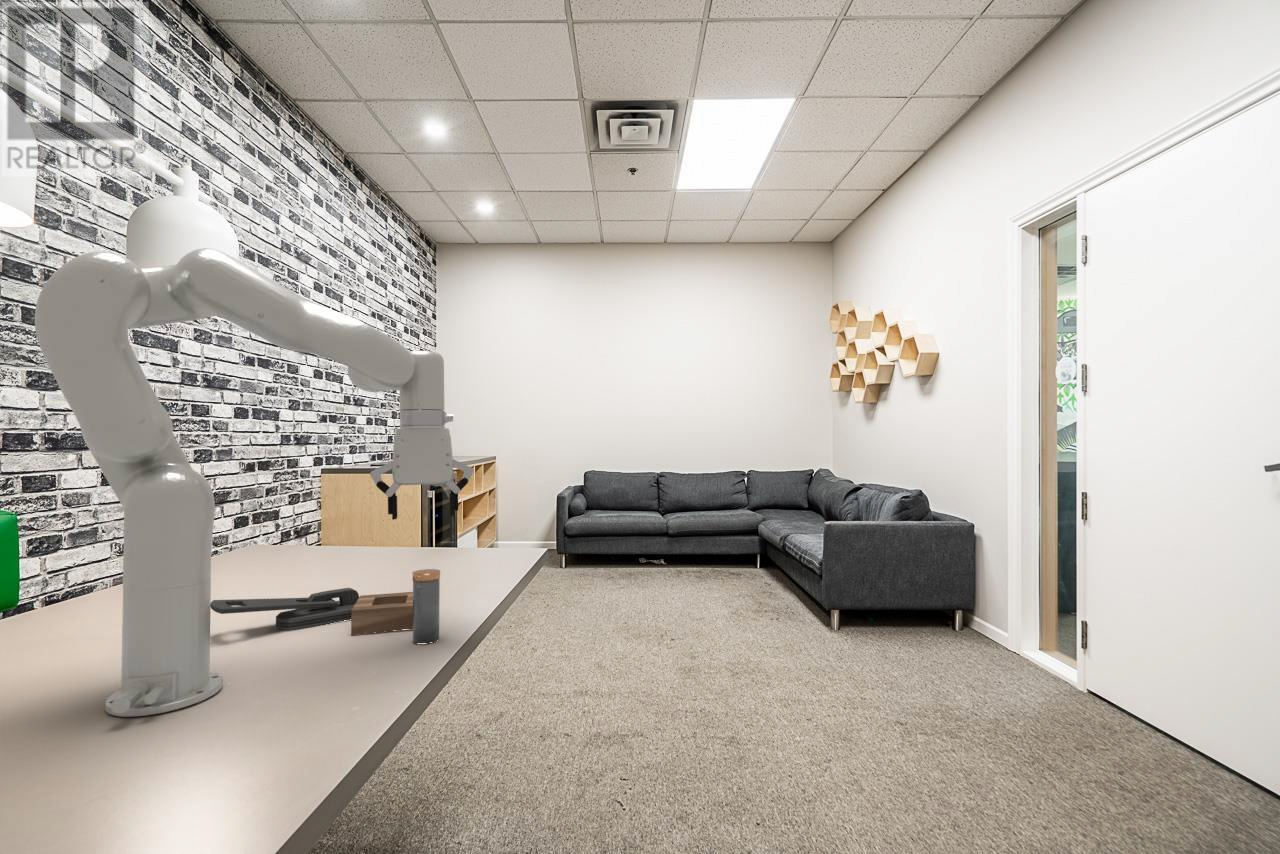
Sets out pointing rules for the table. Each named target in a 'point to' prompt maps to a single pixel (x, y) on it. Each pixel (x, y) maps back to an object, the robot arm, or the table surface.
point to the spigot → (426, 605)
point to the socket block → (382, 613)
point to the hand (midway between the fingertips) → (423, 516)
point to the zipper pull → (297, 608)
